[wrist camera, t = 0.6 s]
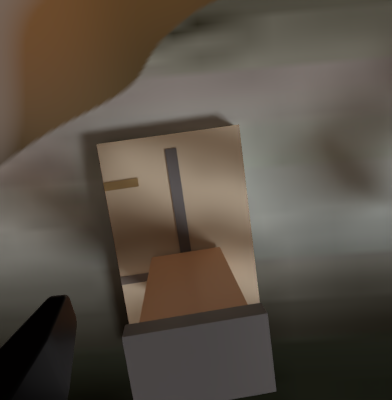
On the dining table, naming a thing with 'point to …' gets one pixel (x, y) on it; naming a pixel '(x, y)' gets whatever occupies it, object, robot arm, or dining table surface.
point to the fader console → (177, 204)
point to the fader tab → (197, 333)
